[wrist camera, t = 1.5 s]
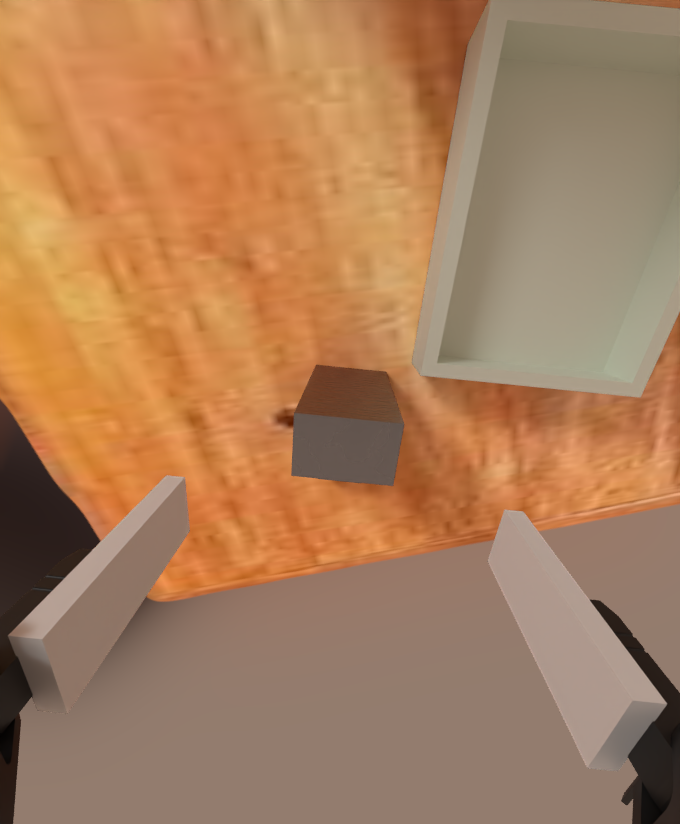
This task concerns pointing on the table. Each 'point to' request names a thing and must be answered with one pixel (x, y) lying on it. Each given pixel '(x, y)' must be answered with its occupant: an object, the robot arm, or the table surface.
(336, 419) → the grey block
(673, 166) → the tray
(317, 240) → the table surface
